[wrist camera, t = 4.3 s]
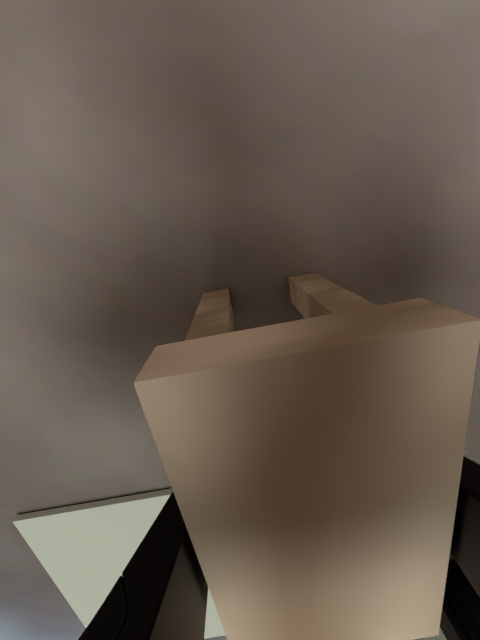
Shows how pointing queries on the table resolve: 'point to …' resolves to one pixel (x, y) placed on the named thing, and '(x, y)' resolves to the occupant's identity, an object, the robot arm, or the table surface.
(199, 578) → the robot arm
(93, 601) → the mat
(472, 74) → the table surface
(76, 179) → the table surface
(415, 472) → the beige wooden bench
